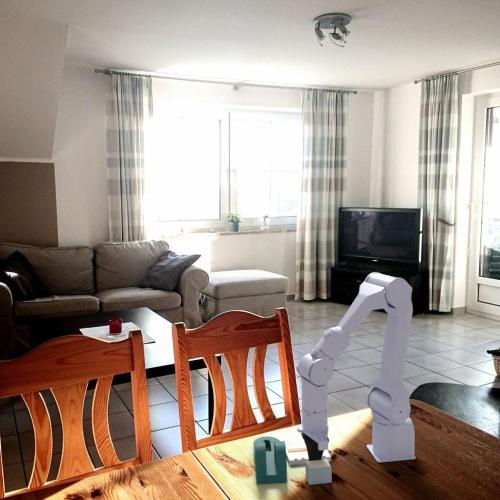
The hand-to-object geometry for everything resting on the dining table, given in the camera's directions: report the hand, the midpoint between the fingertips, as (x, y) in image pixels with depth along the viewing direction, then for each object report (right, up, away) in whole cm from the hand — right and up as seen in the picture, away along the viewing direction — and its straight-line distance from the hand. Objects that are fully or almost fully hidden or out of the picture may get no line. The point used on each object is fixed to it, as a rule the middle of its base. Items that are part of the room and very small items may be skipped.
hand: (315, 464), depth 124 cm
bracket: (-10, -2, +5) cm, 12 cm away
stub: (0, -2, -3) cm, 4 cm away
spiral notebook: (-1, -1, +7) cm, 8 cm away
